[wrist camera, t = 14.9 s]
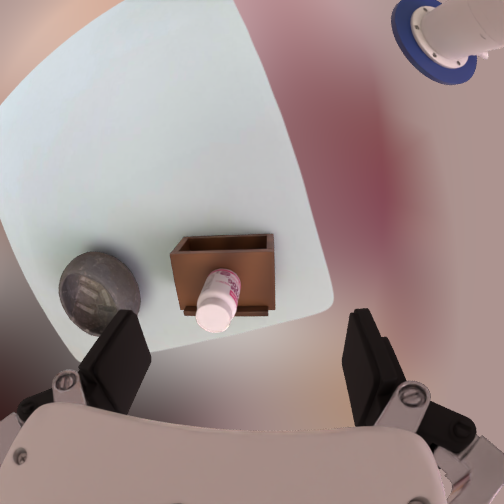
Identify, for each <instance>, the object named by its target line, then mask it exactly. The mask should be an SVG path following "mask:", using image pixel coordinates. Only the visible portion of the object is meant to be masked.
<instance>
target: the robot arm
mask: <svg viewBox="0 0 504 504" xmlns="http://www.w3.org/2000/svg"><path fill="white" fill-rule="evenodd" d="M410 25H411V30H412V33H413V36H414V38H415V40H416V42H417V44H418V45H419V47H420V48H421V49H422V51H423V52H424V53H425V54H426V55H427V56H428V57H429V58H430V59H431V60H433V61H434V62H435V63H437V64H439V65H440V66H443V67H445V68H449V69H455V68H459V67H461V66H463V65H464V64H465V63H466V62H467V60H468V56H470V55H474V56H475V55H478V56H479V57H482V58H484V59H487V58H488V56H489V55H488V52H487V51H490V50H494V49H499V48H502V47H504V0H448V1H446V2H444V3H443V4H441V5H439V6H438V7H436V8H435V7H431V6H423V7H420V8H418V9H417V10H415V11H414V12H413V14H412V16H411V21H410ZM150 363H151V355H150V352H149V349H148V346H147V344H146V341H145V338H144V335H143V332H142V329H141V326H140V323H139V320H138V317H137V315H136V314H135V313H134V312H133V311H132V310H126V309H120V310H119V311H118V312H117V313H116V315H115V316H114V317H113V319H112V320H111V322H110V323H109V324H108V326H107V327H106V328H105V330H104V331H103V332H102V334H101V335H100V337H99V338H98V339H97V341H96V342H95V344H94V345H93V346H92V348H91V349H90V351H89V352H88V353H87V355H86V356H85V358H84V359H83V361H82V362H81V364H80V365H79V369H80V370H79V372H78V373H77V372H76V371H74V370H64V371H62V372H60V373H59V374H57V375H56V377H55V378H54V380H53V382H52V388H51V389H49V390H46V391H44V392H41V393H39V394H36V395H33V396H31V397H28V398H26V399H24V400H23V401H22V402H21V403H20V404H19V406H18V409H17V414H15V412H13V413H12V414H10V415H9V416H8V417H6V418H5V419H3V420H2V421H0V504H490V502H491V501H492V500H493V498H494V497H495V496H496V494H497V493H498V492H499V490H500V489H501V487H502V486H503V484H504V453H503V452H502V451H500V450H499V449H498V448H497V447H495V446H494V445H493V444H492V443H491V442H490V441H488V440H487V439H486V438H485V437H484V436H481V437H479V436H477V434H476V427H475V424H474V422H473V421H472V420H471V419H469V418H468V417H466V416H463V415H461V414H459V413H456V412H454V411H451V410H450V409H447V408H445V407H443V406H441V405H438V404H436V403H434V402H432V401H430V399H431V395H430V391H429V389H428V388H427V387H426V386H425V385H424V384H422V383H420V382H417V381H406V378H405V376H404V374H403V371H402V369H401V367H400V365H399V362H398V360H397V357H396V355H395V353H394V350H393V348H392V346H391V344H390V342H389V340H388V338H387V337H381V335H380V333H379V330H378V328H377V326H376V324H375V322H374V320H373V317H372V315H371V313H370V311H369V309H368V308H363V309H355V310H354V313H350V316H349V323H348V328H347V334H346V340H345V345H344V351H343V357H342V367H343V372H344V376H345V380H346V385H347V389H348V394H349V398H350V403H351V408H352V413H353V418H354V422H355V426H356V427H348V428H334V429H320V430H298V431H245V430H227V429H214V428H203V427H194V426H186V425H178V424H172V423H165V422H159V421H153V420H147V419H143V418H138V417H132V416H128V415H127V414H128V412H129V409H130V407H131V405H132V403H133V400H134V398H135V396H136V394H137V392H138V389H139V387H140V385H141V383H142V380H143V379H144V376H145V374H146V372H147V370H148V368H149V366H150ZM439 469H442V470H443V471H444V472H445V473H446V474H445V476H446V477H447V478H448V479H449V480H450V482H451V483H452V491H451V494H450V495H449V497H448V498H447V499H446V494H445V490H444V486H443V482H442V478H441V475H440V472H439ZM408 502H409V503H408Z"/></svg>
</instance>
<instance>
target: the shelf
mask: <svg viewBox="0 0 504 504" xmlns="http://www.w3.org/2000/svg"><path fill="white" fill-rule="evenodd" d="M170 259H171V264H172V270H173V275H174V280H175V286H176V291H177V295H178V300H179V305H180V310H184V311H183V312H184V316H196V312H197V301H198V298H199V296H200V293H201V291H202V289H203V286H204V284H205V282H206V279H207V277H208V276H209V274H210V273H211V272H213V271H214V270H217V269H228V270H231V271H233V272H234V273H235V274H236V275H237V276H238V277H239V279H240V282H241V289H240V294H239V299H238V304H237V309H236V313H235V315H234V316H268V310H275V263H274V234H248V235H218V236H193V237H183V238H182V240H181V241H180V242H179V243H178V245H177V246H176V247H175V248H174V250H173V251H172V252H171V253H170Z"/></svg>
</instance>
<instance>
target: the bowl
mask: <svg viewBox="0 0 504 504" xmlns="http://www.w3.org/2000/svg"><path fill="white" fill-rule="evenodd" d="M59 297H60V301H61V304H62V306H63V308H64V310H65V312H66V314H67V315H68V317H69V318H70V320H72V321H73V323H74V324H76V325H77V326H78V327H79V328H80V329H81V330H83V331H84V332H86V333H88V334H90V335H93V336H98V337H100V335H101V334H102V332H103V331H104V330H105V328H106V327H107V326H108V324H109V323H110V322H111V320H112V319H113V317H114V316H115V315H116V313H117V312H118V311H119V310H120V309H126V310H132V311H133V312H134V313H135V314H136V315H138V312H139V309H140V302H141V300H140V292H139V288H138V285H137V282H136V280H135V278H134V277H133V275H132V273H131V271H130V270H129V269H128V268H127V267H126V266H125V264H123V263H122V262H121V261H119V260H118V259H116V258H115V257H113V256H110V255H108V254H105V253H102V252H87V253H84V254H81V255H79V256H77V257H76V258H74V259H73V260H72V261H71V262H70V263H69V264H68V265H67V267H66V268H65V270H64V271H63V273H62V275H61V278H60V283H59Z"/></svg>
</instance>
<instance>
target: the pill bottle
mask: <svg viewBox="0 0 504 504" xmlns="http://www.w3.org/2000/svg"><path fill="white" fill-rule="evenodd" d="M240 289H241V282H240V279H239V277H238V276H237V275H236V274H235V273H234V272H233V271H231V270H228V269H217V270H214V271H213V272H211V273H210V274H209V276H208V277H207V279H206V282H205V284H204V286H203V289H202V291H201V293H200V296H199V298H198V301H197V312H196V320H197V323H198V324H199V325H200V327H202V328H203V329H204V330H206V331H209V332H213V333H217V332H222V331H224V330H226V329H227V328H228V327H229V325H230V322H231V319H232V318H233V317H234V315H235V313H236V309H237V304H238V299H239V294H240Z"/></svg>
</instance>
